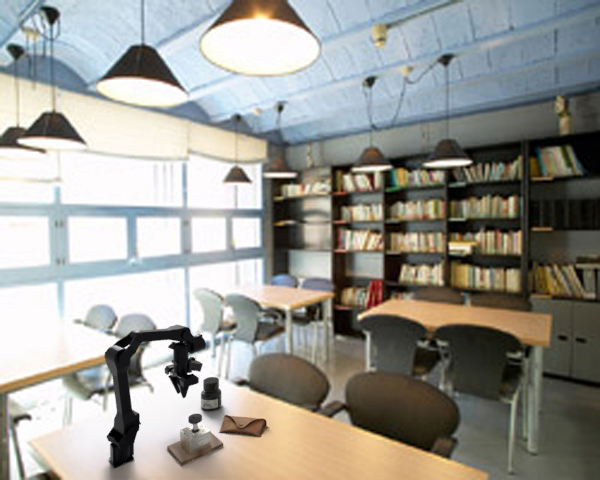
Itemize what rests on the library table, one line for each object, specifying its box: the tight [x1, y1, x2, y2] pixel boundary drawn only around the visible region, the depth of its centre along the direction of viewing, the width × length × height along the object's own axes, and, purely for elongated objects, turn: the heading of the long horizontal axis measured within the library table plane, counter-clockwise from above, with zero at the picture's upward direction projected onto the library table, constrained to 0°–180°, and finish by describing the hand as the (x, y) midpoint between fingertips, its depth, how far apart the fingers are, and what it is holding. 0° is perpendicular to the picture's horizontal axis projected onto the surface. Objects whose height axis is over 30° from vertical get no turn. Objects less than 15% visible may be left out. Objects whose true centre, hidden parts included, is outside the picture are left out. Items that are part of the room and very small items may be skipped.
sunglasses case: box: [218, 414, 268, 438], centre depth 144 cm, size 18×7×7 cm, turn 82°
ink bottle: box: [200, 376, 222, 412], centre depth 161 cm, size 10×9×12 cm
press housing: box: [179, 421, 212, 454], centre depth 131 cm, size 8×8×5 cm
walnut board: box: [166, 432, 224, 467], centre depth 131 cm, size 16×12×1 cm
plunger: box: [187, 413, 203, 433], centre depth 131 cm, size 5×5×6 cm
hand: (181, 395), depth 144 cm, fingers open, 5 cm apart
